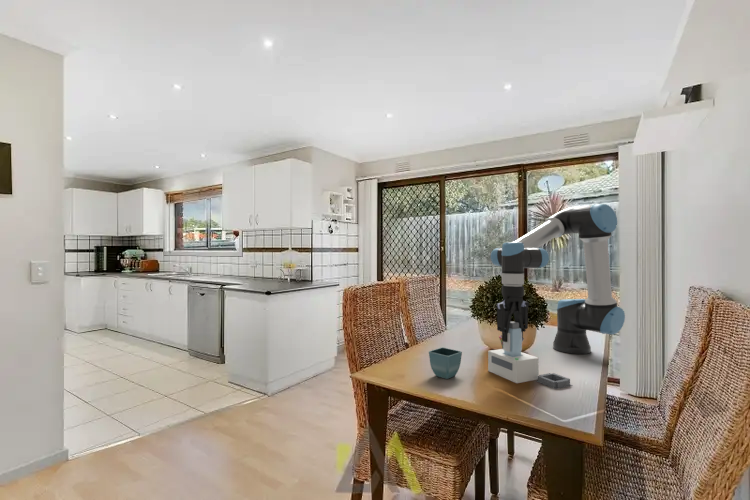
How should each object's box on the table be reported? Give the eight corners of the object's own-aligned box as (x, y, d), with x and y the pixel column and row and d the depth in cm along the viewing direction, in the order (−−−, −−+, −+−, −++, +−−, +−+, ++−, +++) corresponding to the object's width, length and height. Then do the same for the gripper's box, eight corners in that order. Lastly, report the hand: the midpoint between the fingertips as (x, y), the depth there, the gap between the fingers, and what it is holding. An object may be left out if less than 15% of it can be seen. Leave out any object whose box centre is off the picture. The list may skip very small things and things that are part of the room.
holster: (552, 379, 129) (552, 372, 129) (572, 387, 122) (572, 379, 122) (535, 382, 126) (535, 375, 126) (555, 390, 119) (555, 383, 119)
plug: (512, 361, 135) (512, 320, 135) (521, 364, 131) (521, 322, 131) (504, 363, 133) (504, 321, 133) (512, 366, 130) (512, 323, 130)
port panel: (508, 368, 141) (508, 346, 141) (538, 380, 128) (538, 356, 128) (487, 372, 137) (487, 349, 137) (516, 385, 124) (516, 360, 124)
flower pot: (442, 370, 139) (442, 346, 139) (462, 376, 133) (462, 351, 133) (428, 376, 133) (428, 351, 133) (448, 382, 126) (448, 356, 126)
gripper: (523, 283, 139) (523, 344, 139) (485, 285, 132) (485, 349, 132) (539, 285, 133) (539, 349, 133) (501, 287, 125) (500, 355, 125)
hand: (512, 349), depth 132 cm, fingers open, 5 cm apart
